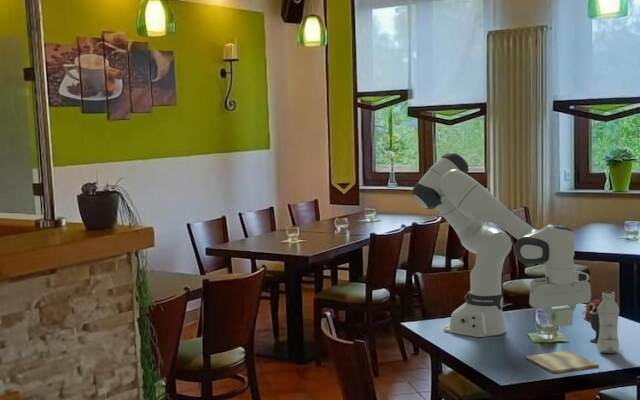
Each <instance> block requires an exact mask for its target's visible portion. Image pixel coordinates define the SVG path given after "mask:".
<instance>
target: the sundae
mask: <svg viewBox="0 0 640 400" xmlns="http://www.w3.org/2000/svg"><path fill="white" fill-rule="evenodd" d="M601 299H602V300H603V298H601ZM600 303H601V302H600ZM600 303H598V305H594V306H591V305H590V311H589V312H588V314H589V315H590V318H589V319H590V326H591V328H592V331H594V332H595V337H594V338H592V339H590V341H589V342H590V343H594V344H597V343H598V338H599V330H600V324H599V313H598V306H599V305H600Z"/></svg>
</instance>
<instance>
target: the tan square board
mask: <svg viewBox="0 0 640 400" xmlns="http://www.w3.org/2000/svg"><path fill="white" fill-rule="evenodd" d="M525 360H527V361H529V362H530V363H533V364H534V365H537V364H538V365H537V366H539V367H540V366H541V368H542V367H543V368H542V369H544V368H545V370H546V369H547V371H548V372H550V373H551V374H558V373H565V372H571V371H572V372H573V371H579V370H586V369H594V368H599V366H600V364H599V363H598V362H597V363H596V362H594V361H592V360H590V359H588V358H586V357H584V356H581V355H579V354H577V353H575V352H572V351H571V350H569V349H568V350H561V351H555V352H546V353H541V354H540V353H539V354H533V355H532V354H531V355H525Z"/></svg>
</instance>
